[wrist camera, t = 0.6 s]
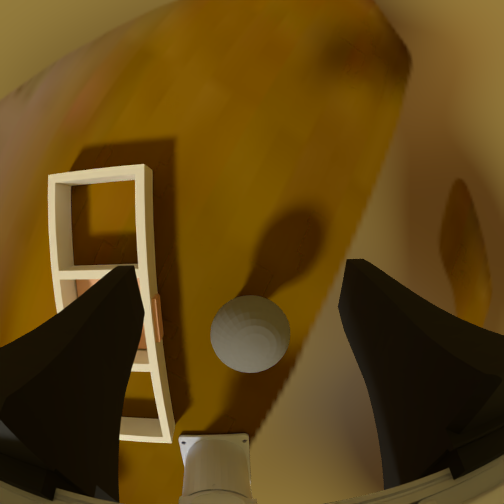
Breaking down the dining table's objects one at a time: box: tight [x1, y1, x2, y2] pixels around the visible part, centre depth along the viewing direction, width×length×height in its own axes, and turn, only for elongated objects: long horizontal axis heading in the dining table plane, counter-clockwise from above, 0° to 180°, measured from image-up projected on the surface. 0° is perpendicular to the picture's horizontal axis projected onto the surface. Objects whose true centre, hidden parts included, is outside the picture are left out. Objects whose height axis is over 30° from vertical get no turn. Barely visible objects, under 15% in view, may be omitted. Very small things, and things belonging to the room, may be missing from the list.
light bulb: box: [211, 295, 290, 373], centre depth 26 cm, size 6×6×10 cm
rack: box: [48, 164, 175, 443], centre depth 28 cm, size 27×10×4 cm, turn 1°
